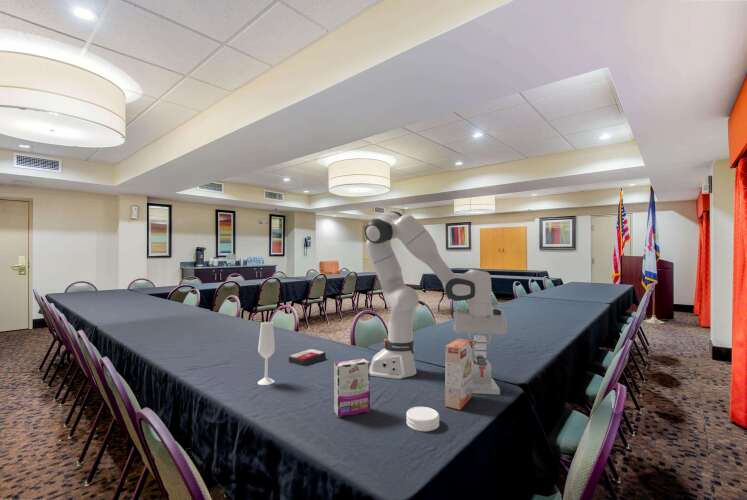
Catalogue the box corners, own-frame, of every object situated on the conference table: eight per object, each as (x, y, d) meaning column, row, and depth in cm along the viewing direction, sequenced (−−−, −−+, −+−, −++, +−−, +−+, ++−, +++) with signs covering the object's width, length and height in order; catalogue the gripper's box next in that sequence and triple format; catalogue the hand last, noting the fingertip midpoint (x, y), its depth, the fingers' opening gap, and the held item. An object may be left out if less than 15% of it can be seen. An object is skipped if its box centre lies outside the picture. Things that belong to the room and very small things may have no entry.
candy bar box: (364, 406, 117) (364, 357, 117) (370, 412, 112) (370, 361, 113) (333, 412, 112) (333, 361, 113) (337, 418, 108) (338, 365, 108)
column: (475, 389, 133) (475, 337, 133) (474, 385, 137) (473, 335, 137) (486, 390, 132) (486, 337, 133) (484, 386, 136) (484, 335, 137)
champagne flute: (253, 383, 138) (254, 323, 139) (264, 378, 144) (265, 321, 145) (267, 385, 136) (268, 324, 137) (277, 380, 142) (278, 322, 143)
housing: (466, 393, 129) (466, 359, 130) (462, 382, 141) (462, 351, 142) (499, 394, 128) (499, 360, 128) (492, 383, 140) (492, 352, 140)
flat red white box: (288, 355, 168) (310, 347, 180) (288, 364, 168) (311, 355, 180) (303, 359, 162) (325, 351, 174) (303, 368, 162) (326, 359, 174)
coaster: (435, 417, 110) (435, 405, 110) (442, 432, 100) (442, 420, 100) (404, 417, 109) (404, 406, 110) (408, 432, 99) (408, 420, 100)
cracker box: (461, 411, 113) (461, 347, 114) (444, 407, 117) (444, 345, 117) (473, 397, 125) (473, 339, 126) (457, 393, 128) (457, 337, 129)
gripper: (453, 310, 134) (454, 346, 133) (508, 311, 131) (508, 347, 131) (452, 308, 140) (452, 342, 139) (504, 309, 137) (504, 344, 137)
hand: (480, 345), depth 135 cm, fingers closed on column, 4 cm apart
